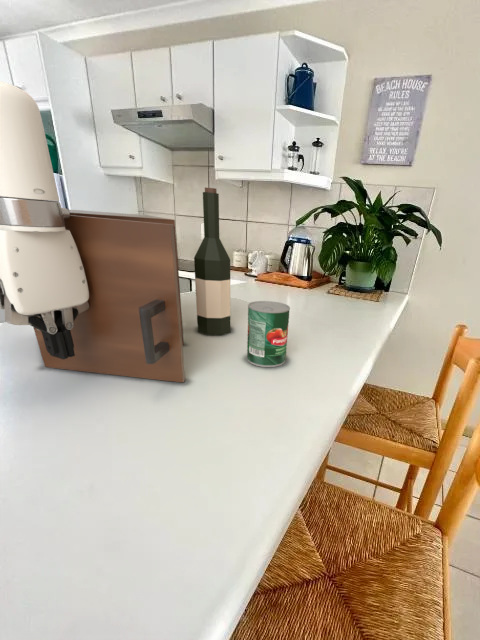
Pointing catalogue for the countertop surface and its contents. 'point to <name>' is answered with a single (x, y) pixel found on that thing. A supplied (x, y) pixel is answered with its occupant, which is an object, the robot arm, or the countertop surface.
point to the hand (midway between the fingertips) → (62, 355)
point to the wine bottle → (212, 273)
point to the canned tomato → (267, 333)
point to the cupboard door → (125, 301)
